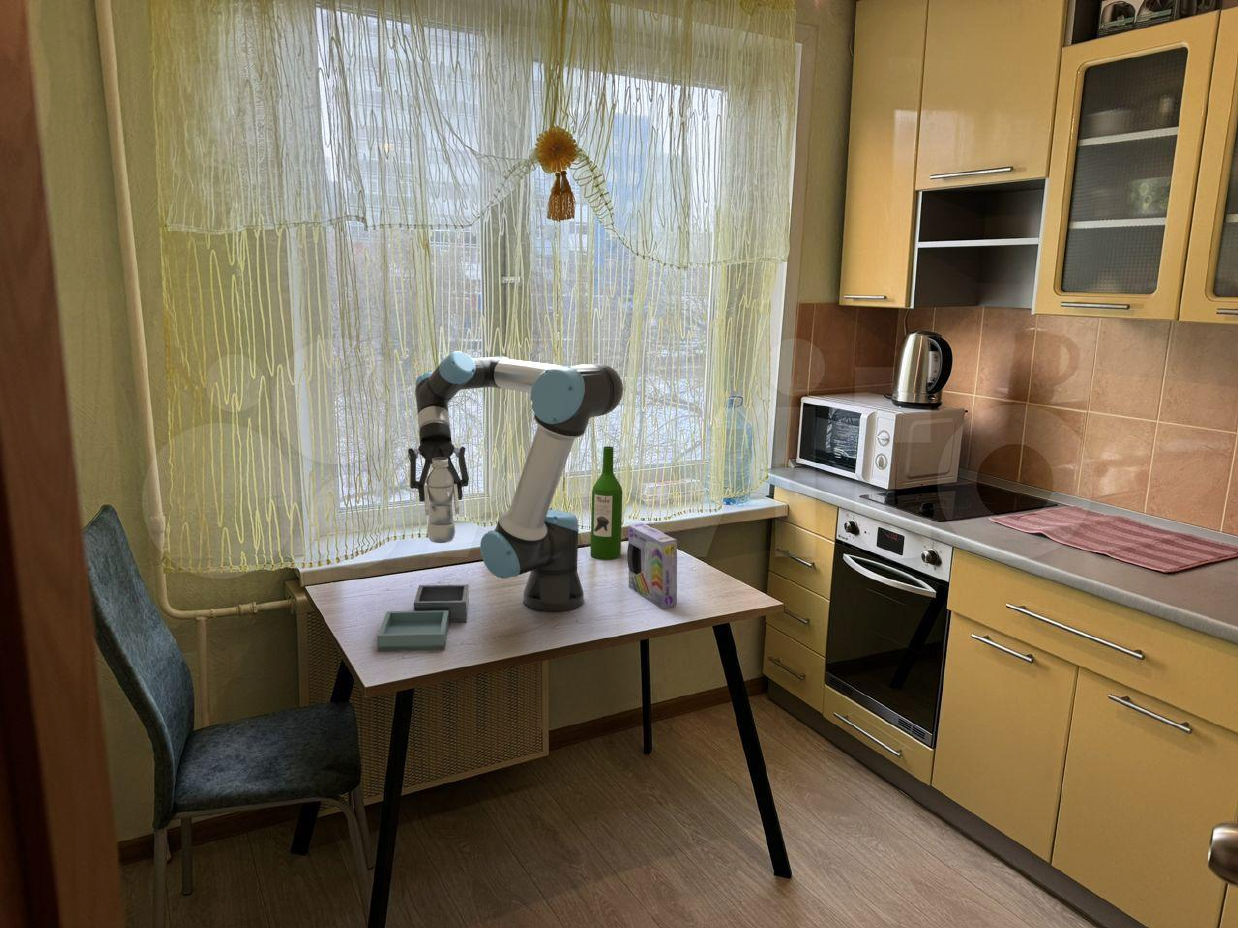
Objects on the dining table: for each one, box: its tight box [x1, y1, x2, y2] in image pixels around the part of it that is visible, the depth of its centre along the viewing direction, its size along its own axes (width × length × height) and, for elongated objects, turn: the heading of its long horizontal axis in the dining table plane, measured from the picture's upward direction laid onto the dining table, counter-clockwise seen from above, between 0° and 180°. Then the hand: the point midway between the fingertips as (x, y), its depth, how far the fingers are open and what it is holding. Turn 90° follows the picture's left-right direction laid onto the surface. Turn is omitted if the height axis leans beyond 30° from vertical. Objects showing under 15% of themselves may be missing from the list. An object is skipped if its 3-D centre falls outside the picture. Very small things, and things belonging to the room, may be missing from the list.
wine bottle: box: [590, 445, 623, 561], centre depth 251 cm, size 9×9×32 cm
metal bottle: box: [425, 457, 456, 544], centre depth 202 cm, size 6×7×20 cm
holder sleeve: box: [413, 584, 470, 624], centre depth 207 cm, size 12×12×5 cm
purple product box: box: [626, 522, 678, 609], centre depth 221 cm, size 19×5×18 cm, turn 27°
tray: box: [377, 610, 450, 652], centre depth 193 cm, size 14×14×4 cm
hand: (442, 511), depth 199 cm, fingers closed on metal bottle, 6 cm apart
